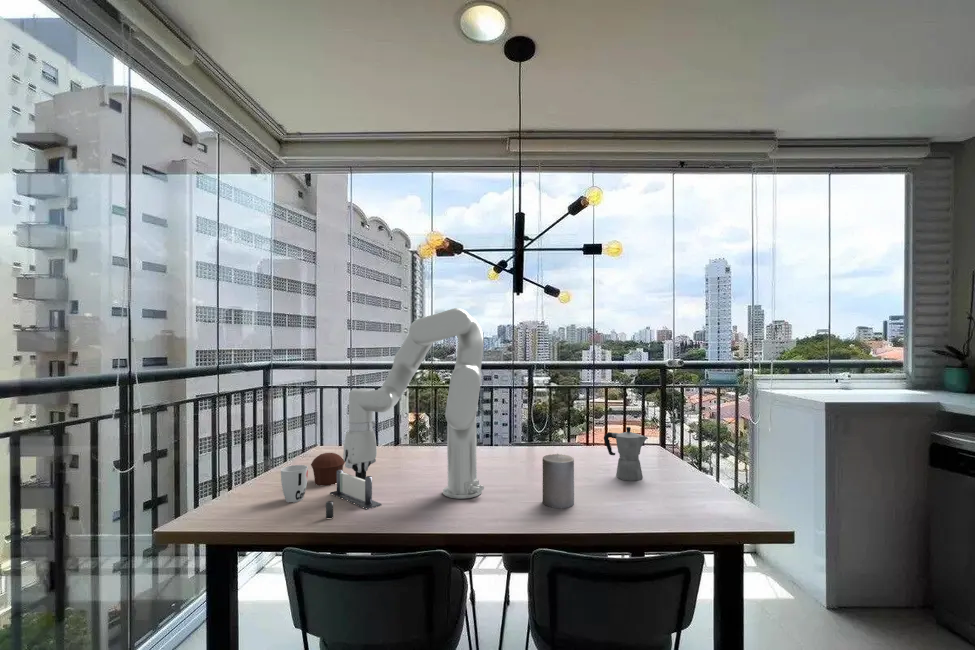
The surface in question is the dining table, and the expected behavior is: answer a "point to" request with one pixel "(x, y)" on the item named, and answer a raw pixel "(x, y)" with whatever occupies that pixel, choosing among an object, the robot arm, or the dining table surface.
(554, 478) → the pillar candle
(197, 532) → the dining table surface
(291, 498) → the cup
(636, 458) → the coffeepot
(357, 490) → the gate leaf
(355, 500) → the gate frame
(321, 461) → the muffin
